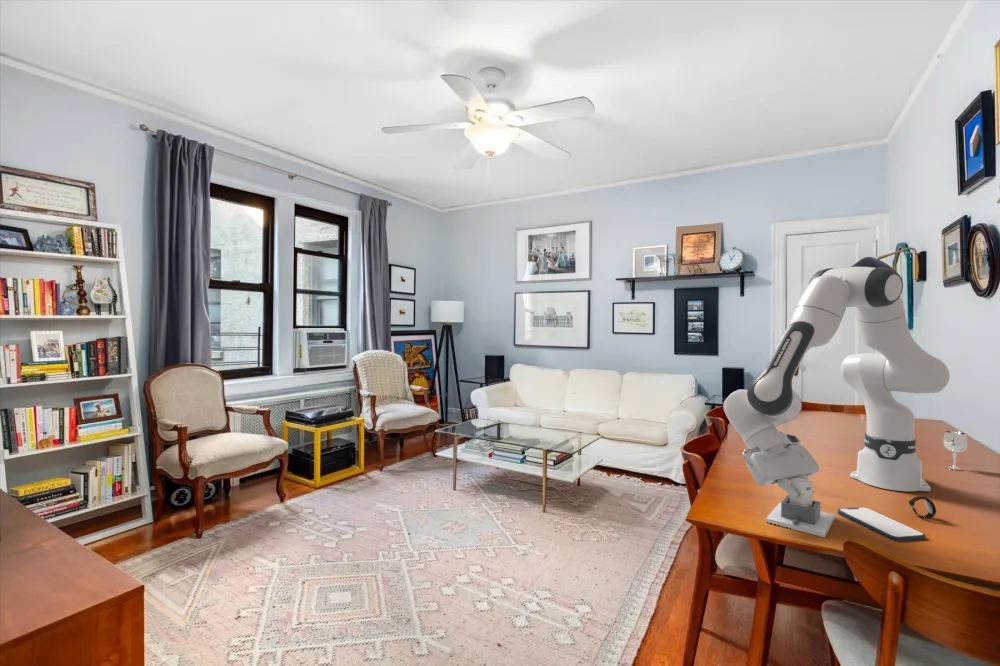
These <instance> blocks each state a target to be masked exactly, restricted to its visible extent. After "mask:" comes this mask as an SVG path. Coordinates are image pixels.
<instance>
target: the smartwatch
mask: <svg viewBox="0 0 1000 666" xmlns="http://www.w3.org/2000/svg"><path fill="white" fill-rule="evenodd" d="M919 500H924V505H925V508H926V510H927V514H925V515H919V514H918V513H917V509H916V508H915V502H917V501H919ZM908 504H909V506H910V507H911V509H912V511H913V512H914V514H915V515H916V516H917V517H920V518H921V519H924V517H925V518H927V519H931V518H934V517H935V516H936V514H937V509H936V506H935V504H934V502H933V500H931V499H929V498H928V497H925V496H916V497H912V498H911V500H908ZM923 516H924V517H923Z"/></svg>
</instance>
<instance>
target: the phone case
mask: <svg viewBox="0 0 1000 666" xmlns="http://www.w3.org/2000/svg"><path fill="white" fill-rule="evenodd" d="M837 514H838V515H839V516H840V515H841V517H842V516H843V518H845V519H847V520H848V521H851V522H853V523H855V522H856V523H855V524H857V523H858V524H857V525H859V524H860V525H859V526H861V525H862V526H861V527H863V526H864V527H863V528H865V527H866V529H867V528H868V530H870V531H872V532H874V533H876V534H878V535H880V536H882V537H884V538H886V539H889V540H890V541H893V542H900V543H901V542H913V541H925V540H926V539H927V537H926V536H927V535H926V534H925V533H923V532H921V531H919V530H916V529H915V528H912V527H910V526H908V525H906V524H903V523H901V522H899V521H898V520H897V521H896V520H895V519H893V518H890V517H889V516H886V515H884V514H881V513H880V512H877V511H875V510H873V509H870V508H868V507H865V506H864V507H863V506H859V507H857V506H856V507H845V508H838V509H837Z"/></svg>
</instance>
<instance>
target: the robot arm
mask: <svg viewBox="0 0 1000 666" xmlns="http://www.w3.org/2000/svg"><path fill="white" fill-rule="evenodd" d="M903 288H904V283H903V278H902V276H901V275H900V273H898V272H897V271H896V270H895V269H892V268H889V267H884V266H878V267H871V266H851V267H839V268H838V267H837V268H836V267H835V268H833V267H829V268H824V269H820V270H818V271H817V272H815V274H813V275H812V277H811V278H810V279H809V283H808V284H807V286H806V287H805V289H804V290H803V293H802V294H801V296H800V298H799V299H798V301H797V303H796V306H795V307H794V310H793V312H792V315H791V317H790V319H789V321H788V324H787V326H786V329H785V331H784V332H783V335H782V336H781V338H780V340H779V341H778V344H777V346H776V348H775V349H774V351H773V353H772V356H771V357H770V359H769V361H768V363H767V365H766V367H764V369H763V370H762V371H760V373H759V374H758V375H756V376H755V377H754V378H753V380H751V381H750V383H749V385H748V388H747V389H737V390H734V391H733V392H731V393H729V395H728V396H727V397H726V398H725V400H724V402H723V408H722V409H723V411H724V413H725V415H726V417H727V419H728V421H729V422H730V425H732V427H733V428H734V431H736V433H738V434H739V435H740V436H741V439H742V440H743V442H744V444H745V446H746V449H744V450H743V453H742V458H743V460H744V461H745V465H746V467H747V469H748V471H749V473H750V474H751V476H752V478H753V479H754V482H755V483H756V484H757V485H759V486H761V487H764V486H770V485H775V484H777V485H778V486H779V488H780V489H782V490H783V491H785V492H786V493H787V494H788V495H790V496H791V498H793V499H794V498H798V497H799V496H801V494H800V492H799V491H798V489H797V488H796V489H795V488H793V487H792V486H791V485H790V479H793V478H798V477H800V478H803V479H807V480H810V479H809V477H811V476H814V475H815V474H816V473H818V472H819V471H820V466H819V464H818V462H817V461H816V459H815V458H814V456H812V454H811V452H810V451H808V448H806V447H805V446H804V445H802V444H801V443H802V442H801V439H800V438H799V437H798V436H797V435H793V434H789V433H785V432H782V431H779V430H778V429H777V426H781V425H783V424H786V423H788V422H790V421H793V420H794V419H795V420H796V418H798V417H799V415H800V414H801V412H802V409H803V408H802V407H803V404H802V403H803V402H802V400H801V398H800V396H799V395H798V393H797V392H796V391H795V390H794V389H793V379H794V376H795V374H796V372H797V371H798V368H799V366H800V364H801V362H802V361H803V358H804V357H805V355H806V353H807V352H808V351H809V350H810V349H811V348H817V347H818V348H819V347H822V346H824V345H827V344H829V343H830V341H831V340H832V339H833V337H834V336H835V335H836V332H837V331H838V330H839V328H840V325H841V323H842V321H843V318H844V316H845V312H846V310H847V308H853V307H854V312H855V318H856V321H857V322H856V323H857V328H858V331H859V336H860V339H861V341H862V342H863V344H864V345H865V346H867V347H869V348H870V349H872V350H874V351H876V352H878V353H876V352H863V353H853V354H852V353H851V354H849V355H847V356H845V358H844V359H843V360H842V362H841V365H840V368H839V371H840V376H841V378H842V379H843V381H844V382H845V383H846V384H847V385H849V386H850V387H851V388H853V389H854V390H855V392H856V393H857V394H858V396H859V397H860V399H861V400H862V402H863V406H864V409H865V418H866V420H865V421H866V433H865V434H864V438H863V441H864V443H863V444H864V448H862V449H860V451H858V453H857V463H856V465H857V466H856V470H854V471H851V472H850V473H849V477H850V478H852V479H854V480H857V481H860V482H861V483H864V484H867V485H870V486H873V487H877V488H881V489H885V490H890V491H891V490H892V491H898V492H931V491H932V489H931V488H932V487H931V486H930V485H929V484H928V483H927V481H926V480H925V479H924V478H923V476H924V472H923V462H922V460H921V459H920V458H919V457H918V456H917V455H916V452H917V441H916V439H915V417H916V416H915V415H914V413H913V411H912V410H911V409H910V408H909V407H907V406H906V405H904V404H902V403H900V402H899V401H897V399H895V398H894V396H893V394H892V392H900V393H908V394H936V393H940V392H942V391H943V390H944V389H945V388H946V387H947V385H948V384H949V381H950V371H949V369H948V366H947V365H946V364H945V363H944V362H943V361H942V360H941V359H939V358H937V357H935V356H933V355H931V354H930V353H928V352H927V351H926V350H924V349H923V348H922V347H921V346H920V345H918V343H917V342H916V341H915V338H913V337H912V335H911V332H910V329H909V325H908V321H907V317H906V311H905V308H904V307H905V306H904V302H903V299H902V297H901V295H902V293H903ZM814 492H815V491H814V490H813V494H814Z"/></svg>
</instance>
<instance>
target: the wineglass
mask: <svg viewBox="0 0 1000 666" xmlns="http://www.w3.org/2000/svg"><path fill="white" fill-rule="evenodd" d="M942 442H943V446H944V448H945V449H946V450H949V451H950V452H953V453H952V457H953V465H951V466H949V465H948V466H949V467H948V468H951V469H960V468H961V467H958V466H957V464H956V461H957V460H956V459H957V456H958V454H957V453H962V452H965V451H966V450H967V448H968V438H967V434H966V433H965V432H961V431H954V430H953V431H951V430H947V431H945V432H944V435H943V441H942Z"/></svg>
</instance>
